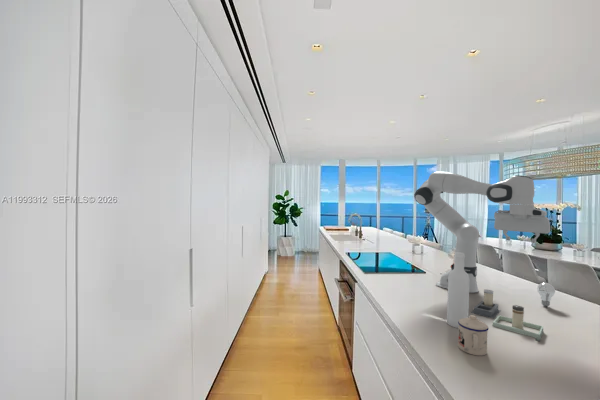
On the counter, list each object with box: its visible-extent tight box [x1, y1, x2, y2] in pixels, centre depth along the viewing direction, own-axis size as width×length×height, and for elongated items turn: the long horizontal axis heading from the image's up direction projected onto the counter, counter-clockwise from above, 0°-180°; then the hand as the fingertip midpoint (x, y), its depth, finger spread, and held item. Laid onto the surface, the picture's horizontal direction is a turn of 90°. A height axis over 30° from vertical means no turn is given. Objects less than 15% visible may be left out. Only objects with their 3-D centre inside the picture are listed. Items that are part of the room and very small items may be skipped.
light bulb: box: [536, 282, 556, 308], centre depth 148 cm, size 7×7×12 cm
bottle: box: [446, 251, 470, 329], centre depth 123 cm, size 8×8×30 cm
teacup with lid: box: [457, 314, 489, 356], centre depth 101 cm, size 12×9×12 cm
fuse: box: [483, 288, 494, 307], centre depth 139 cm, size 4×4×9 cm
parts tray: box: [492, 314, 544, 342], centre depth 119 cm, size 15×11×2 cm
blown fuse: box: [511, 304, 525, 330], centre depth 119 cm, size 4×4×9 cm
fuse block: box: [470, 300, 502, 320], centre depth 136 cm, size 9×14×4 cm, turn 135°
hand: (520, 241), depth 133 cm, fingers open, 8 cm apart
